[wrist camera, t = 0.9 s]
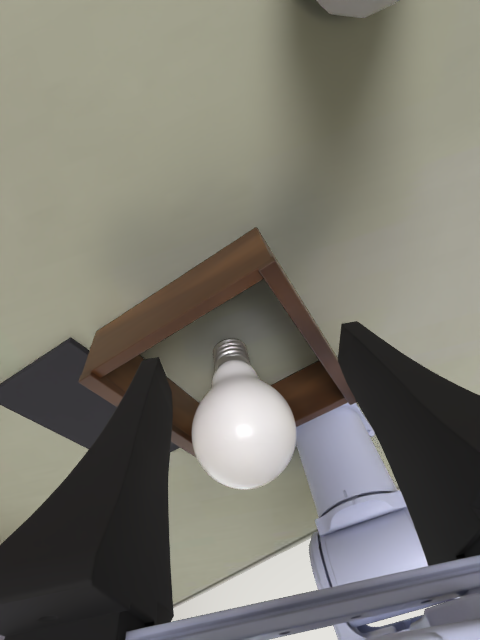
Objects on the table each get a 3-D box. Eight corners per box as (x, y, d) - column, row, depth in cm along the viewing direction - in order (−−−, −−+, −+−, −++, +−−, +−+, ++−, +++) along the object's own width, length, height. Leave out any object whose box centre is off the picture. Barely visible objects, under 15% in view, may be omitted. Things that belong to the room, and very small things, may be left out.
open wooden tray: (338, 357, 28) (362, 400, 25) (210, 422, 32) (214, 469, 28) (257, 225, 20) (275, 260, 16) (94, 332, 23) (77, 382, 19)
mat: (201, 432, 32) (201, 436, 32) (133, 467, 34) (132, 471, 34) (70, 337, 23) (68, 341, 23) (-13, 392, 25) (-16, 397, 25)
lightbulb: (197, 308, 23) (206, 448, 14) (278, 319, 25) (329, 450, 16) (183, 370, 27) (184, 512, 18) (255, 376, 28) (287, 508, 20)
